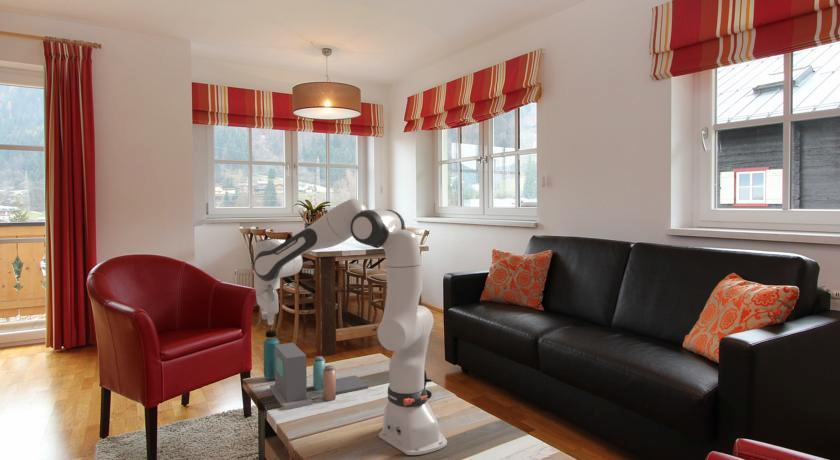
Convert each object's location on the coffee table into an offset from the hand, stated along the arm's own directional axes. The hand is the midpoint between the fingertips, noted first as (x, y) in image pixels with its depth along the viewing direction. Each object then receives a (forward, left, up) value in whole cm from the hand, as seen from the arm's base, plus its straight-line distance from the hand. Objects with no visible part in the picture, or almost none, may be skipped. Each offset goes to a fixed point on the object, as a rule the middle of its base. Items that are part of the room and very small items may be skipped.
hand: (267, 321), depth 179 cm
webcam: (-23, -51, -29) cm, 63 cm away
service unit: (0, -8, -29) cm, 30 cm away
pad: (0, -30, -29) cm, 42 cm away
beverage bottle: (+21, -6, -29) cm, 37 cm away
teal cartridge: (+3, -20, -29) cm, 35 cm away
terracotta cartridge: (-9, -20, -29) cm, 36 cm away
